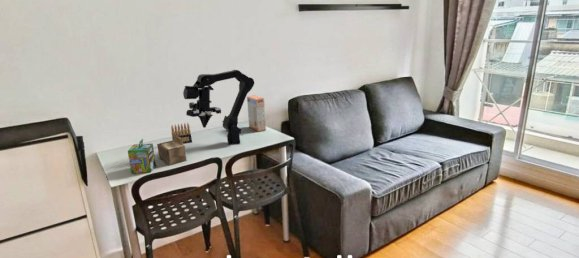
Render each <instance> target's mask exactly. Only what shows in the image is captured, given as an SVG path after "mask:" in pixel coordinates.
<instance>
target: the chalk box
mask: <svg viewBox="0 0 579 258" xmlns="http://www.w3.org/2000/svg"><path fill="white" fill-rule="evenodd" d="M143 142H144V139H143V138H142V139H140V140H139V143H136V144H133V145H132V146H131V147H130V148H128V150H127V155H128V160H129V165H130V167H129V168H130V172H131V174H144V173H151V172H152V171H153V170H154V169H155V167H156V166H157V163H156V157H155V148H154V144H153V143H143Z"/></svg>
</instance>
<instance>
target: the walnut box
mask: <svg viewBox="0 0 579 258" xmlns="http://www.w3.org/2000/svg"><path fill="white" fill-rule="evenodd" d="M172 141H174V140H169V141H165V142H160V143H156V145H157V153H158V158H159V160H160V161H161V162H164V164H166V165H168V166H169V167H170V166H173V165H176V164H181V163H183V162H187V154H186V146H185V144H183V146H179V147H175V148H171V149H166V148H165V147H163V146H161V144H164V143H168V142H172Z"/></svg>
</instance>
